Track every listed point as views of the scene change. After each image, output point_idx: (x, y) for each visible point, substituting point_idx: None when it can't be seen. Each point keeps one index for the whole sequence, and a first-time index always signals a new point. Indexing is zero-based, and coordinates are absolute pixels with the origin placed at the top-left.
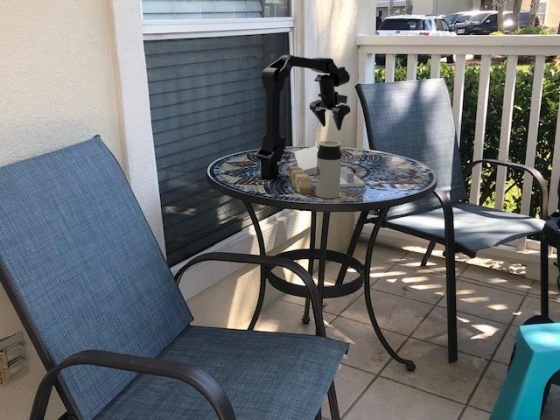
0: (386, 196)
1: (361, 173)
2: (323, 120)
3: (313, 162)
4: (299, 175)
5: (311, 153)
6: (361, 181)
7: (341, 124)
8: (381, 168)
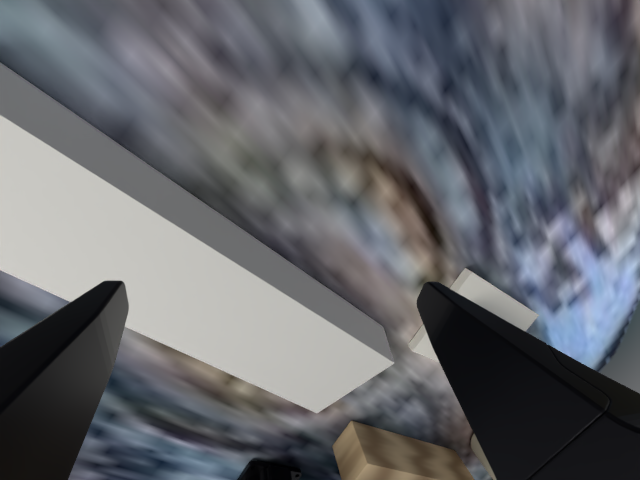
0: (603, 327)
1: (457, 200)
2: (76, 390)
3: (300, 350)
4: None
5: (117, 241)
6: (524, 309)
7: (503, 326)
8: (484, 39)
